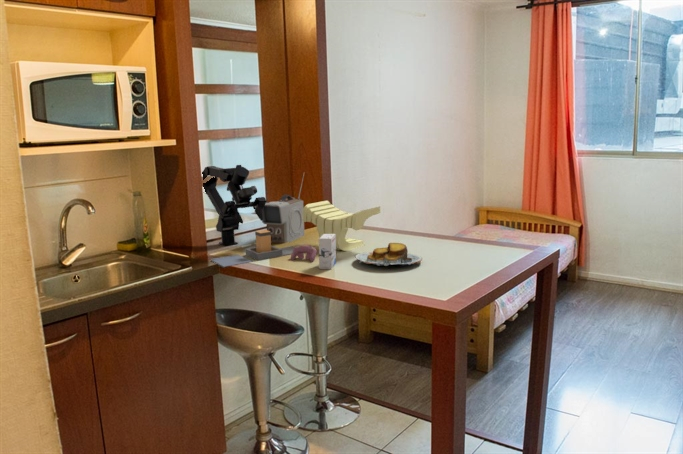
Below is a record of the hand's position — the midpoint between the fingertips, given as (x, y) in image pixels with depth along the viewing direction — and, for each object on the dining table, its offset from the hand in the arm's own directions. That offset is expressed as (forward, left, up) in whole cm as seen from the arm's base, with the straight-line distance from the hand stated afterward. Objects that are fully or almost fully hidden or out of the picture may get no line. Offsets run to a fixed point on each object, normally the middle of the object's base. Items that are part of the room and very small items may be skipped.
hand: (252, 221), depth 236 cm
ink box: (+37, +13, -14) cm, 41 cm away
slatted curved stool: (+14, +35, -14) cm, 40 cm away
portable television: (-14, +23, -14) cm, 30 cm away
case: (+8, +6, -13) cm, 17 cm away
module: (+8, +1, -13) cm, 15 cm away
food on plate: (+47, +34, -14) cm, 59 cm away
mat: (+7, -13, -13) cm, 20 cm away
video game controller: (+23, +10, -14) cm, 29 cm away
